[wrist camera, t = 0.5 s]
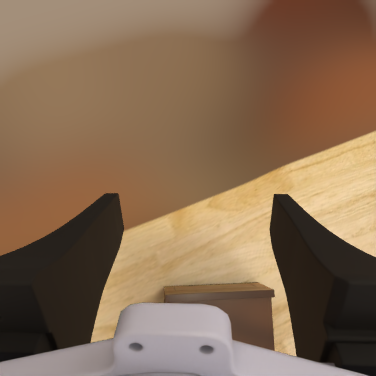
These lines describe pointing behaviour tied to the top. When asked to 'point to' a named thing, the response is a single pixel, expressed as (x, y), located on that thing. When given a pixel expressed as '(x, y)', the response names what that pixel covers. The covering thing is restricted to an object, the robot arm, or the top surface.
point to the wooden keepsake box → (234, 308)
